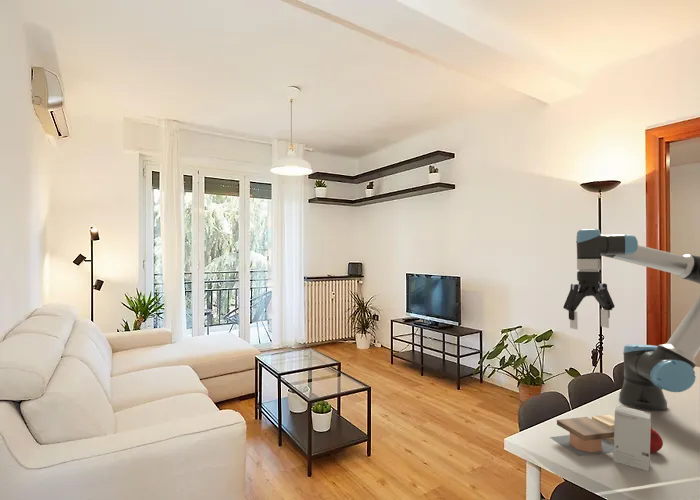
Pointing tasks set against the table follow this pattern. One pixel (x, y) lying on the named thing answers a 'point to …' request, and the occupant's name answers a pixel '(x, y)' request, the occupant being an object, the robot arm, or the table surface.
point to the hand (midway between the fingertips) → (589, 328)
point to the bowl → (586, 444)
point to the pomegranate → (655, 441)
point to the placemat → (565, 442)
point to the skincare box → (632, 437)
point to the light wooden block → (605, 421)
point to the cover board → (586, 428)
